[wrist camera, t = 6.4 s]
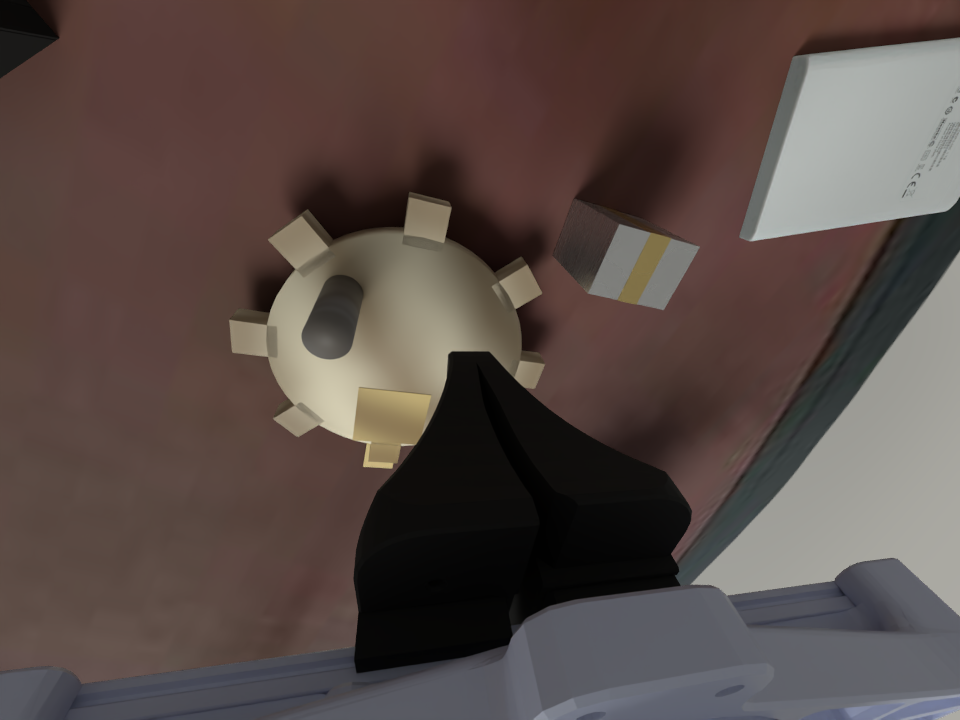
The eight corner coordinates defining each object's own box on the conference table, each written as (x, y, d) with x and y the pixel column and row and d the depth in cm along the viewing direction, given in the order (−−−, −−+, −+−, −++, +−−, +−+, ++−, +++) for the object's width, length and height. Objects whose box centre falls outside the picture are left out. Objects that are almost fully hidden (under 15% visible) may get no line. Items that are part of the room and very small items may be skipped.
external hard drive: (782, 57, 18) (1018, 30, 18) (731, 235, 22) (921, 207, 23) (813, 53, 16) (1065, 25, 17) (752, 243, 21) (953, 213, 22)
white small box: (640, 217, 20) (700, 246, 16) (615, 271, 22) (663, 310, 18) (574, 197, 19) (620, 223, 15) (552, 255, 21) (588, 294, 16)
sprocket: (445, 111, 15) (460, 114, 11) (581, 371, 24) (620, 431, 20) (161, 313, 18) (81, 382, 14) (377, 481, 27) (372, 555, 22)
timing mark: (398, 435, 26) (398, 438, 26) (392, 465, 28) (392, 468, 27) (368, 432, 25) (368, 436, 25) (363, 463, 27) (363, 466, 27)
